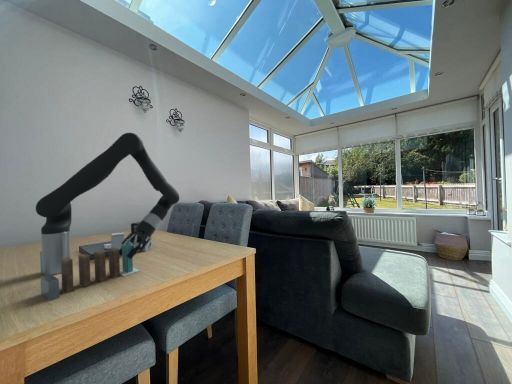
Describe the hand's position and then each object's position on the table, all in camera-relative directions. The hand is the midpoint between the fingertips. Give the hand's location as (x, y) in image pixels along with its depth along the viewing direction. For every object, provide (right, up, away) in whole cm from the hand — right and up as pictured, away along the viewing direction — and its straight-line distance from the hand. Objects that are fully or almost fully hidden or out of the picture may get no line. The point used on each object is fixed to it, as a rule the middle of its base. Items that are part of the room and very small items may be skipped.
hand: (123, 256), depth 92 cm
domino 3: (-5, -7, -7) cm, 11 cm away
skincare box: (-18, -8, +26) cm, 32 cm away
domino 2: (-7, -7, -11) cm, 15 cm away
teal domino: (+1, -7, +1) cm, 7 cm away
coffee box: (-11, -7, +37) cm, 40 cm away
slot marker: (+1, -7, +1) cm, 7 cm away
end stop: (-13, -8, -19) cm, 24 cm away
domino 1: (-10, -7, -15) cm, 20 cm away
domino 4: (-2, -7, -3) cm, 8 cm away
